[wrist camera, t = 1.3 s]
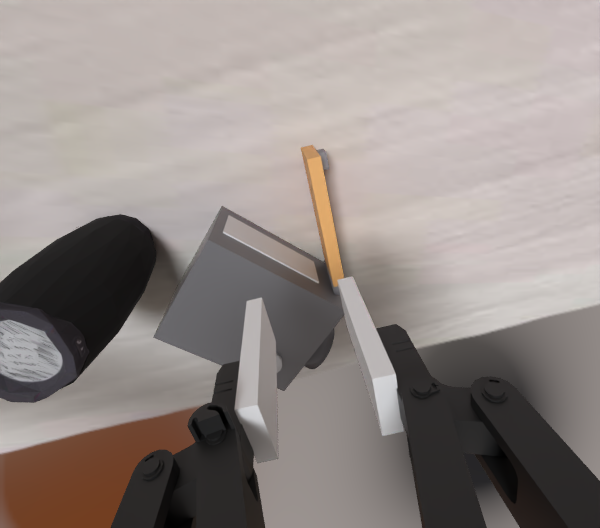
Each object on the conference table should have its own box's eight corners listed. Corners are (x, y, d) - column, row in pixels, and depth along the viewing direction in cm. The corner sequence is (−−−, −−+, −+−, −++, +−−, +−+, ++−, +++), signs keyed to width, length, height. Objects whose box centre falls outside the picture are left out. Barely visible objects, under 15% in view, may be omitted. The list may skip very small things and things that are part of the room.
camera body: (177, 287, 44) (150, 342, 34) (222, 204, 40) (207, 241, 30) (298, 343, 49) (305, 405, 39) (349, 275, 45) (371, 326, 35)
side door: (299, 148, 37) (305, 159, 31) (319, 143, 37) (329, 154, 31) (325, 267, 43) (335, 297, 37) (342, 263, 43) (354, 292, 37)
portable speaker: (69, 213, 39) (-96, 313, 22) (155, 206, 39) (63, 299, 22) (93, 282, 43) (-30, 414, 25) (172, 275, 43) (105, 400, 26)
